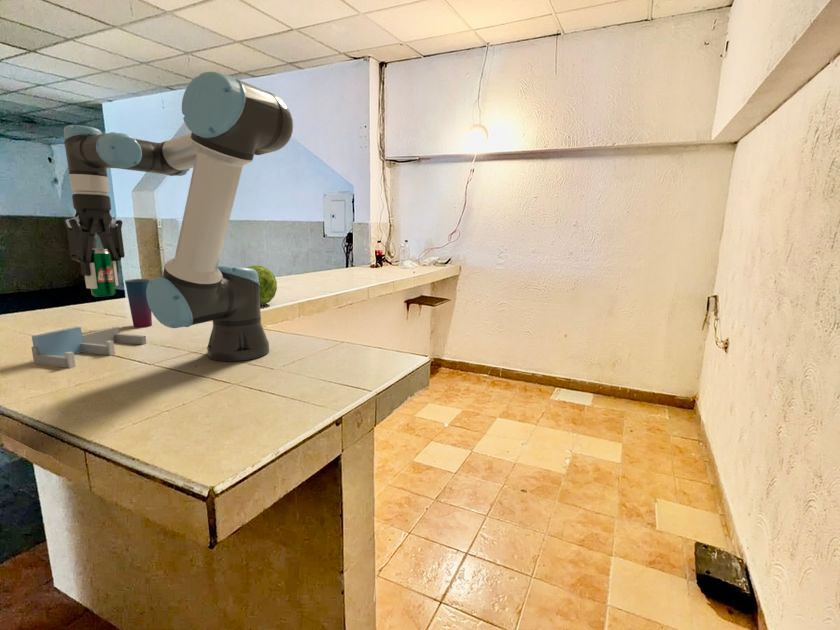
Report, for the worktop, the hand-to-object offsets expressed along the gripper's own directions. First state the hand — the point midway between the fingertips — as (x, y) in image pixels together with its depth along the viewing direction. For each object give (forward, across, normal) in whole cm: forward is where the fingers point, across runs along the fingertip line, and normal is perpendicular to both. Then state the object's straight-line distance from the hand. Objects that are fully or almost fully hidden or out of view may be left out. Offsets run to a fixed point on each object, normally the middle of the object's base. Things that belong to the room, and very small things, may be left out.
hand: (102, 286), depth 110 cm
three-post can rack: (+17, +4, 0) cm, 17 cm away
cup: (+17, -23, -14) cm, 31 cm away
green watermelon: (+17, -70, -6) cm, 72 cm away
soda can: (+2, 0, 0) cm, 2 cm away
